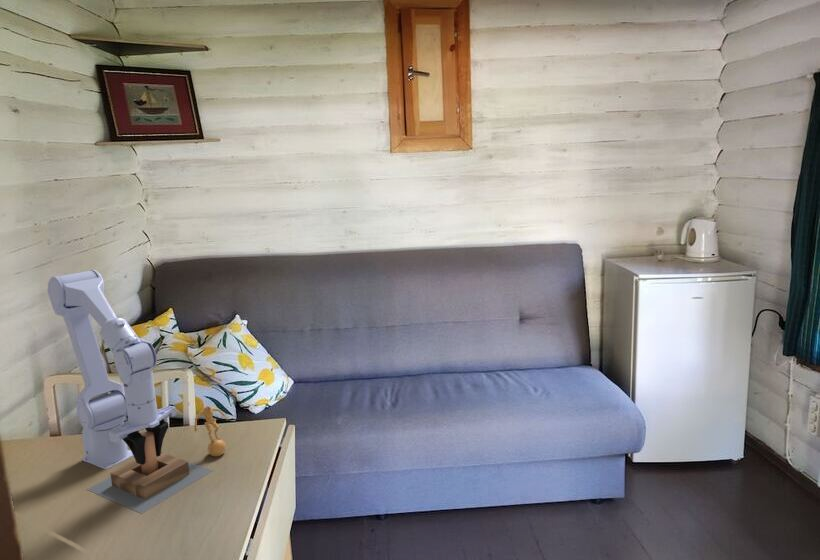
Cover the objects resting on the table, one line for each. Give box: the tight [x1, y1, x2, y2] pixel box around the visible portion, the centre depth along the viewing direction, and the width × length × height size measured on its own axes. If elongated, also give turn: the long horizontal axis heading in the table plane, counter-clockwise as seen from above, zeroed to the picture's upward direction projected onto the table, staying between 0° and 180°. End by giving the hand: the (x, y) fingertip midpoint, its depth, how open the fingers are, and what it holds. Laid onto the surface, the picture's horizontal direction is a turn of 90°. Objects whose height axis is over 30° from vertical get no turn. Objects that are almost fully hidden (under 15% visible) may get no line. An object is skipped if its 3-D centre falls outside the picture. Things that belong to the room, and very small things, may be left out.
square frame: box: [109, 451, 189, 500], centre depth 128 cm, size 11×11×3 cm
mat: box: [86, 461, 214, 515], centre depth 129 cm, size 18×18×1 cm
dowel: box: [140, 431, 158, 476], centre depth 127 cm, size 3×3×9 cm
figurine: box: [194, 405, 228, 458], centre depth 139 cm, size 8×6×12 cm
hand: (148, 459), depth 128 cm, fingers closed on dowel, 3 cm apart
